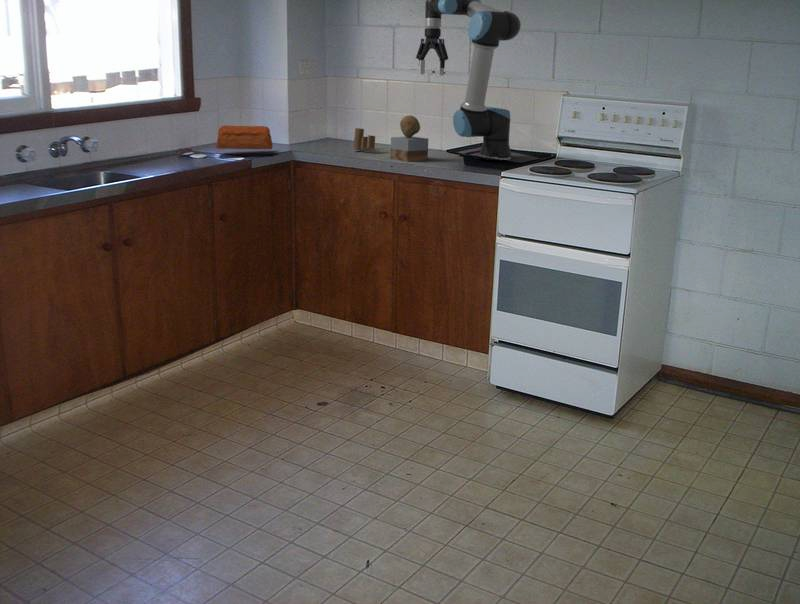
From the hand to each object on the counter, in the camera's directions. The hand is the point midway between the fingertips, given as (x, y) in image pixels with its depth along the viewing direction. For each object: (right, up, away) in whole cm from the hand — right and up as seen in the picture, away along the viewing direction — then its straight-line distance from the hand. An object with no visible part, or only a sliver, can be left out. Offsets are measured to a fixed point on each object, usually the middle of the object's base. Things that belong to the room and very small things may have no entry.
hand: (431, 74), depth 417 cm
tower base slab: (-11, -43, -17) cm, 48 cm away
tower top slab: (-11, -39, -19) cm, 44 cm away
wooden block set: (-33, -34, +13) cm, 49 cm away
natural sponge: (-10, -34, -20) cm, 41 cm away
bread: (-91, -33, +13) cm, 97 cm away
